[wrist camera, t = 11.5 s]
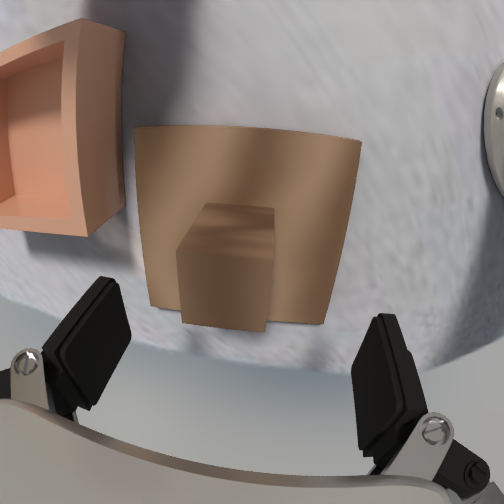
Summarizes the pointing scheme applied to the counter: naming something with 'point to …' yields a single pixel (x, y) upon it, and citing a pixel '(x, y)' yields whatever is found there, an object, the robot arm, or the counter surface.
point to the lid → (243, 221)
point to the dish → (62, 130)
